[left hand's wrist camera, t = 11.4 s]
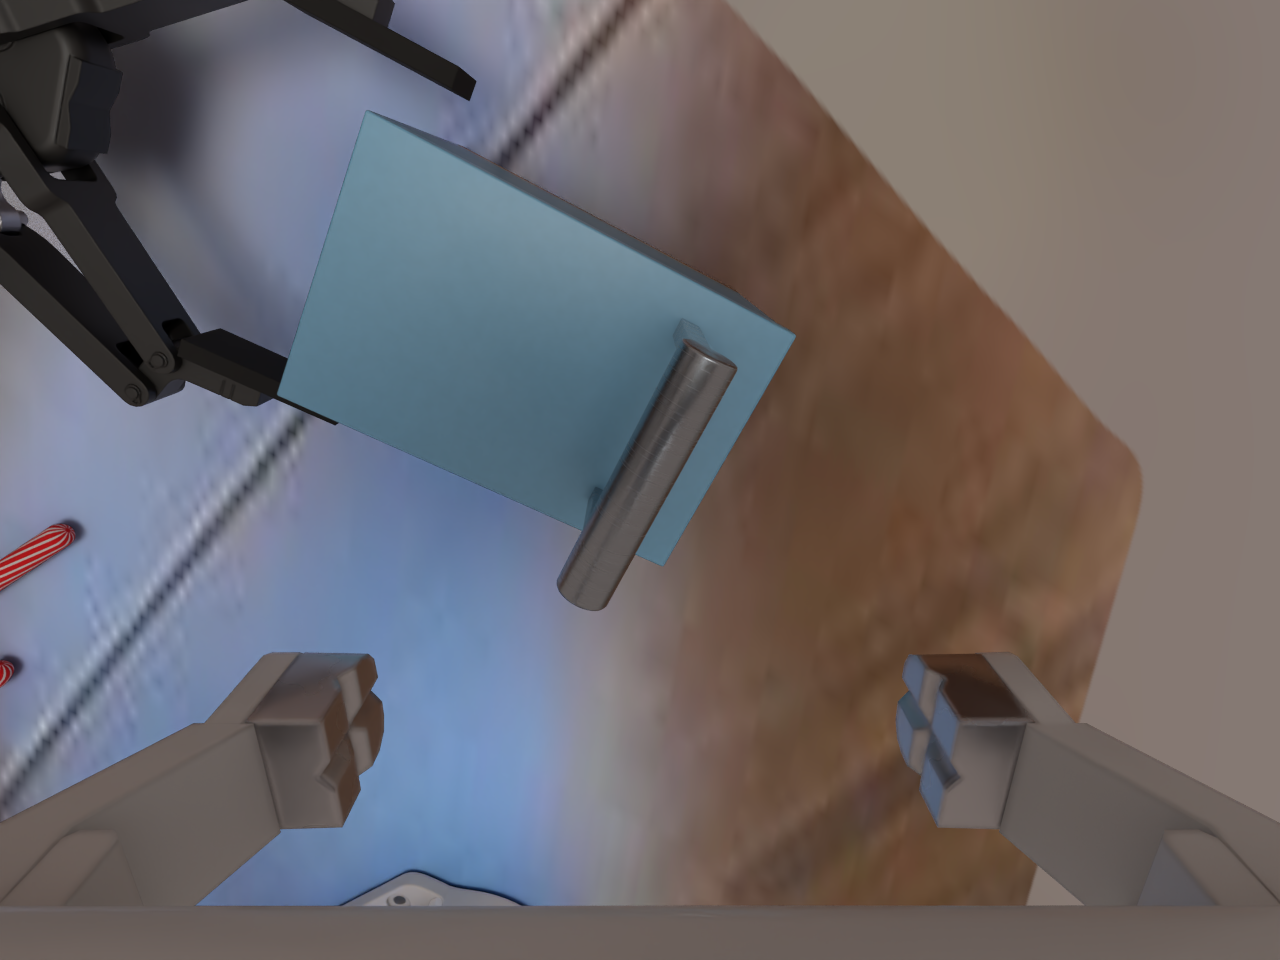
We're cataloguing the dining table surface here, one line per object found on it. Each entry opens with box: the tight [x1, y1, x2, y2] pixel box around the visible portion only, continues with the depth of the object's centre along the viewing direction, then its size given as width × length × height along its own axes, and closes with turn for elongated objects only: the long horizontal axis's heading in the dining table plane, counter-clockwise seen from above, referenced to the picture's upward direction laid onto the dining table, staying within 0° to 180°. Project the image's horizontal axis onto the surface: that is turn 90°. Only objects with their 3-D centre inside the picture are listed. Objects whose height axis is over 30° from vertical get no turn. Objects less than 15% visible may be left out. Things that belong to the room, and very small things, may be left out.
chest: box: [384, 116, 773, 321], centre depth 30 cm, size 15×10×11 cm
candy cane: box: [0, 524, 75, 687], centre depth 40 cm, size 6×15×2 cm, turn 122°
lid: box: [277, 110, 796, 611], centre depth 21 cm, size 15×10×8 cm, turn 63°
